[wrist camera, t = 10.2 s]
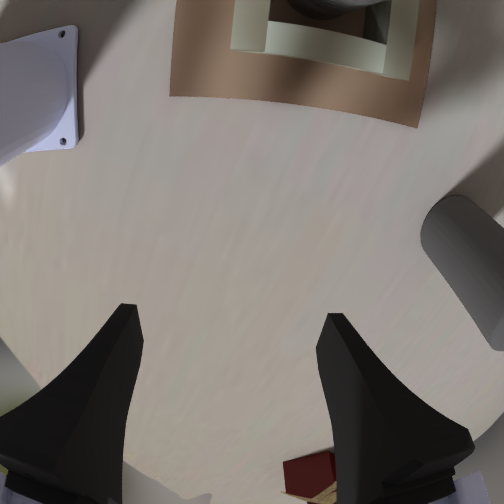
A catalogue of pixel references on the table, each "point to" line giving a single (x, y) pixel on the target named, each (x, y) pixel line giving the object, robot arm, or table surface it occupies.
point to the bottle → (469, 260)
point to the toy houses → (312, 478)
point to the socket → (306, 55)
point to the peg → (329, 7)
